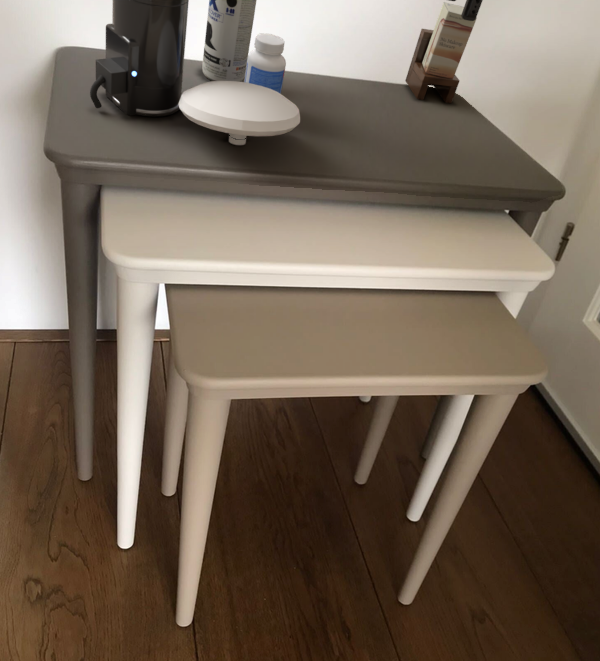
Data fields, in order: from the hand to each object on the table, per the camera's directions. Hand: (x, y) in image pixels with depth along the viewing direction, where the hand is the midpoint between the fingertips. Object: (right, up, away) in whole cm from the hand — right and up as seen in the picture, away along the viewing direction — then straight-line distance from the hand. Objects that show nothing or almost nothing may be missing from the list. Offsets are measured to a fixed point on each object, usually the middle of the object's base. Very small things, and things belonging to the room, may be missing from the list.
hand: (458, 9), depth 105 cm
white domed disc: (-32, -20, -21) cm, 43 cm away
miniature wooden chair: (-3, -9, +10) cm, 14 cm away
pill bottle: (-31, -18, -8) cm, 36 cm away
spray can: (-37, -11, -2) cm, 39 cm away
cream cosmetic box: (-2, -7, +7) cm, 10 cm away
